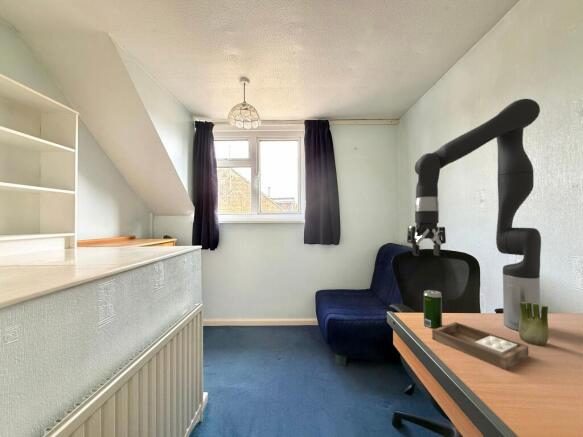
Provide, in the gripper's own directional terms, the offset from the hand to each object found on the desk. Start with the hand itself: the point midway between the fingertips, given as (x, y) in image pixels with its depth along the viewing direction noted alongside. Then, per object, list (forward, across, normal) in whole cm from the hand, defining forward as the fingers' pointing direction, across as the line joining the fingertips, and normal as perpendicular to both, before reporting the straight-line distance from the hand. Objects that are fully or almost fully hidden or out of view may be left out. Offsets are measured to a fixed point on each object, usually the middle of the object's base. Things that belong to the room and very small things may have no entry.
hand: (426, 255), depth 92 cm
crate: (+24, +1, +20) cm, 31 cm away
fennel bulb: (+23, -17, +22) cm, 36 cm away
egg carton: (+23, 0, +25) cm, 34 cm away
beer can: (+24, +2, +5) cm, 24 cm away
